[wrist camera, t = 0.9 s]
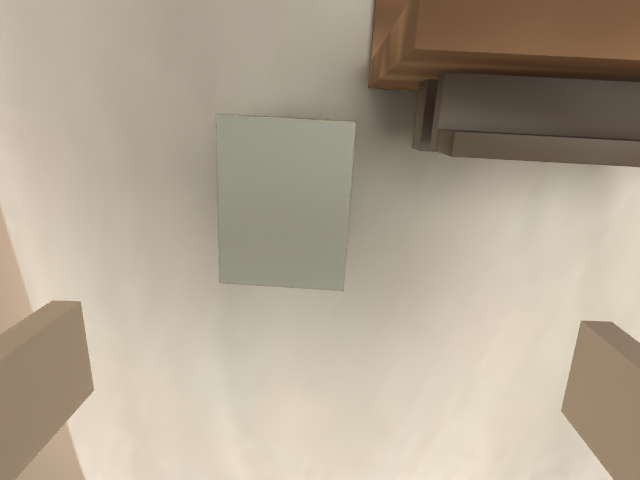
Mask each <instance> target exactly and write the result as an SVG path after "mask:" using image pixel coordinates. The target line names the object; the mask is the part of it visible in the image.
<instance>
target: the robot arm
mask: <svg viewBox="0 0 640 480" xmlns="http://www.w3.org/2000/svg"><path fill="white" fill-rule="evenodd" d="M93 391H94V387H93V381H92V374H91V367H90V361H89V354H88V347H87V340H86V334H85V327H84V320H83V314H82V307H81V302H78V301H51V302H49V303H48V304H46V305H45V306H43V307H42V308H40V309H39V310H37V311H36V312H34V313H32V314H31V315H29V316H28V317H26V318H25V319H23V320H22V321H20V322H19V323H17V324H16V325H14V326H12V327H11V328H9V329H8V330H6V331H5V332H3V333H2V334H0V480H15V479H16V478H17V477H18V476H19V474H20V473H21V472H22V471H23V470H24V469H25V468H26V466H27V465H28V464H29V463H30V462H31V461H32V460H33V459H34V457H35V456H36V455H37V454H38V453H39V452H40V451H41V450H42V448H43V447H44V446H45V445H46V444H47V443H48V442H49V441H50V439H51V438H52V437H53V436H54V435H55V434H56V433H57V431H58V430H59V429H60V428H61V427H62V426H63V425H64V423H65V422H66V421H67V420H68V419H69V418H70V417H71V416H72V415H73V413H74V412H75V411H76V410H77V409H78V408H79V407H80V405H81V404H82V403H83V402H84V401H85V400H86V399H87V398H88V396H89V395H90V394H91V393H92V392H93ZM561 411H562V413H563V414H564V415H565V417H566V418H567V419H568V421H569V422H570V423H571V424H572V426H573V427H574V428H575V430H576V431H577V432H578V434H579V435H580V436H581V438H582V439H583V440H584V441H585V443H586V444H587V445H588V447H589V448H590V449H591V451H592V452H593V453H594V455H595V456H596V457H597V458H598V460H599V461H600V462H601V464H602V465H603V466H604V468H605V469H606V470H607V472H608V473H609V474H610V475H611V477H612V478H613V479H614V480H640V343H639V342H638V341H636V340H635V339H634V338H632V337H631V336H630V335H628V334H627V333H626V332H624V331H623V330H622V329H620V328H619V327H618V326H616V325H615V324H614V323H612V322H602V321H581V323H580V328H579V332H578V337H577V341H576V346H575V351H574V355H573V360H572V364H571V369H570V373H569V378H568V382H567V387H566V391H565V396H564V400H563V405H562V409H561Z"/></svg>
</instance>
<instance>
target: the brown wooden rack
mask: <svg viewBox="0 0 640 480" xmlns="http://www.w3.org/2000/svg"><path fill="white" fill-rule="evenodd" d="M368 88H376V89H396V90H415V91H418V99H417V108H416V117H415V126H414V135H413V143H412V148H414V149H417V150H419V151H432V152H441V153H443V154H446V155H449V156H452V157H469V158H487V159H505V160H523V161H541V162H559V163H577V164H595V165H613V166H631V167H640V0H375V12H374V24H373V37H372V49H371V62H370V74H369V87H368Z"/></svg>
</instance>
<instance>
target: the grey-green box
mask: <svg viewBox="0 0 640 480" xmlns="http://www.w3.org/2000/svg"><path fill="white" fill-rule="evenodd" d="M355 128H356V122H354V121H340V120H322V119H304V118H285V117H267V116H248V115H219V114H216V129H217V184H218V239H219V283H227V284H242V285H258V286H274V287H290V288H305V289H321V290H337V291H344V278H345V265H346V251H347V237H348V224H349V210H350V197H351V183H352V169H353V156H354V142H355Z"/></svg>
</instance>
